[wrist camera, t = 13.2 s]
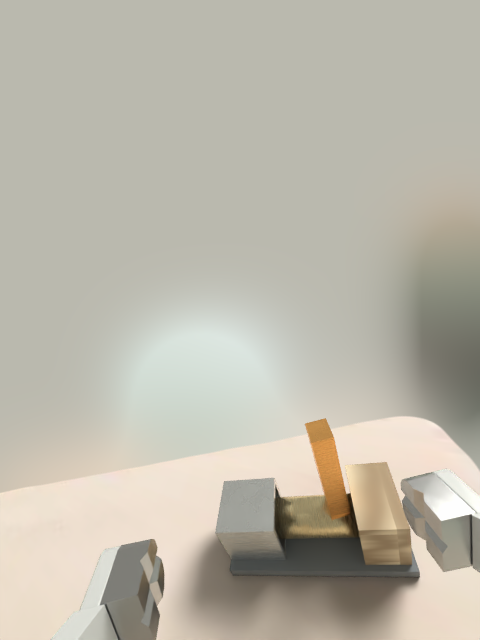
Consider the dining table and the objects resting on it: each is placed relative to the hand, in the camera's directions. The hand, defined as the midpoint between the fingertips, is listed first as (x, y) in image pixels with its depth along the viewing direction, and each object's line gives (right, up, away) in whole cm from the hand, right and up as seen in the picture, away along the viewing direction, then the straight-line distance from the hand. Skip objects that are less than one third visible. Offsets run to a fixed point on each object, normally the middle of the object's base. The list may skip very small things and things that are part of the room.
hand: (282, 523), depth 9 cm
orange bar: (+7, -15, +21) cm, 27 cm away
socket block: (+13, -15, +20) cm, 28 cm away
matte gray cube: (+1, -17, +23) cm, 29 cm away
